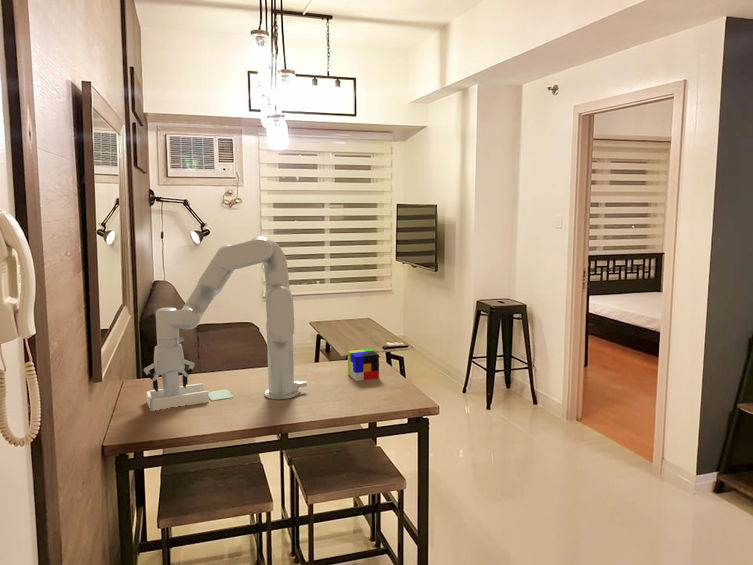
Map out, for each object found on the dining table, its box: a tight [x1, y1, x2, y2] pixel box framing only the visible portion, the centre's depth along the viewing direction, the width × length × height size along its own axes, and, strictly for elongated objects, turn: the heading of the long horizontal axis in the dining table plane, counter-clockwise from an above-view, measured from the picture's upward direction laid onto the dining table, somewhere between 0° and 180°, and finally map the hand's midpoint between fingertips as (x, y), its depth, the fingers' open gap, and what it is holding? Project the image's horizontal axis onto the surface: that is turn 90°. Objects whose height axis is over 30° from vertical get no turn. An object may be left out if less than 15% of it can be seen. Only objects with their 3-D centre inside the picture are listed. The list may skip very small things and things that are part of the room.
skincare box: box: [161, 371, 180, 397], centre depth 213 cm, size 6×4×12 cm
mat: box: [208, 388, 234, 402], centre depth 222 cm, size 8×10×1 cm
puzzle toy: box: [347, 348, 380, 382], centre depth 244 cm, size 10×10×10 cm
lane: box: [145, 382, 210, 412], centre depth 215 cm, size 20×11×4 cm, turn 117°
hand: (170, 388), depth 213 cm, fingers open, 9 cm apart
